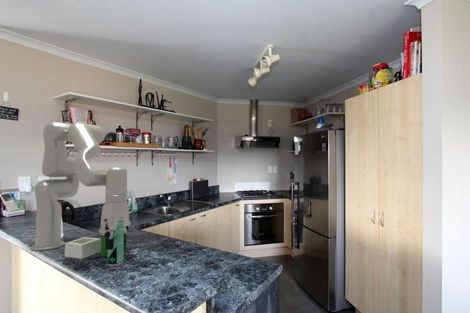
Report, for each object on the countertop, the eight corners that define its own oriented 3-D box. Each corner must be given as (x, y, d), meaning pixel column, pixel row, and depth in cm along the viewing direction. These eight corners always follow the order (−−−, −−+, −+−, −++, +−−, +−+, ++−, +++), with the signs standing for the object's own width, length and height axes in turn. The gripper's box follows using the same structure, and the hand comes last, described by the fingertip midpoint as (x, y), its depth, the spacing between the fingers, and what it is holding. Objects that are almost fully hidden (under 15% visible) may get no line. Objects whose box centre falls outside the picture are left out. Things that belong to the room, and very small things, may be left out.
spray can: (116, 260, 97) (116, 209, 98) (126, 261, 95) (127, 210, 96) (104, 265, 92) (104, 211, 93) (114, 267, 90) (115, 212, 91)
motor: (113, 257, 100) (114, 208, 101) (95, 255, 102) (95, 207, 103) (129, 249, 110) (129, 204, 111) (111, 248, 112) (112, 204, 113)
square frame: (64, 256, 102) (64, 243, 102) (84, 249, 111) (84, 237, 111) (81, 258, 99) (82, 244, 99) (100, 251, 108) (101, 238, 108)
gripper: (124, 196, 104) (124, 239, 103) (89, 201, 88) (88, 253, 87) (139, 197, 102) (139, 241, 101) (106, 202, 85) (105, 255, 85)
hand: (115, 246), depth 94 cm, fingers closed on spray can, 5 cm apart
